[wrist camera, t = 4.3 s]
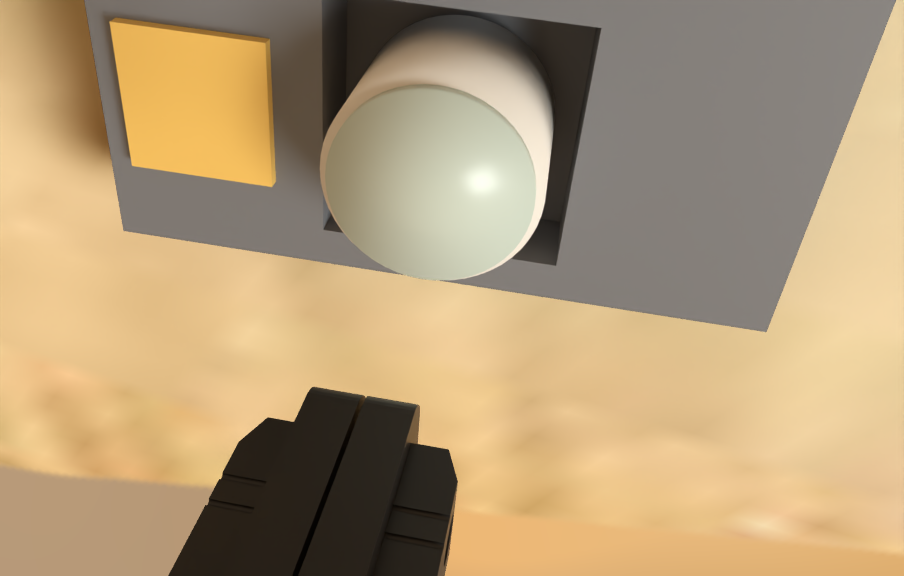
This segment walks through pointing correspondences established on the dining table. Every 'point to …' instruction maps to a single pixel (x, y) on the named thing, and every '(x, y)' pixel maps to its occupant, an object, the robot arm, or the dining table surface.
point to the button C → (442, 150)
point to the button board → (573, 147)
